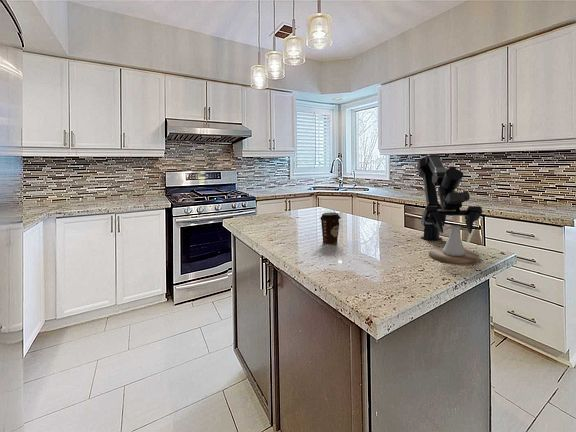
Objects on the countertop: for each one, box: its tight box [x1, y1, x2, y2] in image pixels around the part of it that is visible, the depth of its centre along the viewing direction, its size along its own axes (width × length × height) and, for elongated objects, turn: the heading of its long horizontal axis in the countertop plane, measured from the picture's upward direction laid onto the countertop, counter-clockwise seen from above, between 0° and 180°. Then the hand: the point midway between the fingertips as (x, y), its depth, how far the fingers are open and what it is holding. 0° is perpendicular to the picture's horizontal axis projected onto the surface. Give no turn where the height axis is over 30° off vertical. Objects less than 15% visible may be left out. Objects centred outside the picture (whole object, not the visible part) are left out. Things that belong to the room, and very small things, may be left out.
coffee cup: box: [319, 212, 341, 246], centre depth 135 cm, size 9×8×13 cm
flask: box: [442, 225, 466, 256], centre depth 112 cm, size 7×7×10 cm
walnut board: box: [428, 247, 481, 265], centre depth 113 cm, size 16×16×1 cm
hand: (456, 232), depth 110 cm, fingers open, 9 cm apart
